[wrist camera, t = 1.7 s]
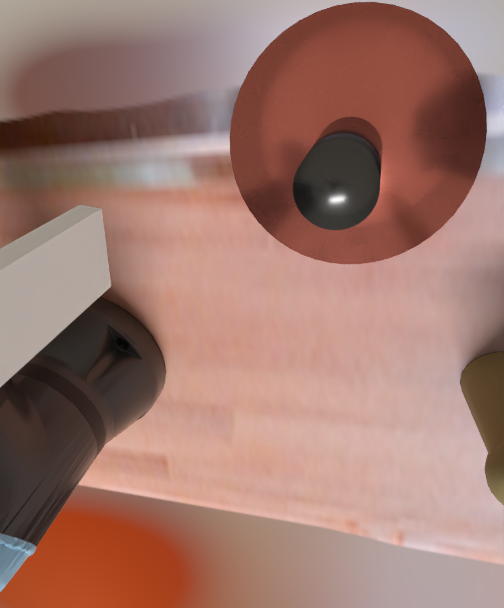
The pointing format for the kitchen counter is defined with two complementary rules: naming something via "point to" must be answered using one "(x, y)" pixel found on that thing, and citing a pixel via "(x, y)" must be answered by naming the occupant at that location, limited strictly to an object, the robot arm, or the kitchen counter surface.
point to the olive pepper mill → (488, 412)
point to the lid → (358, 133)
